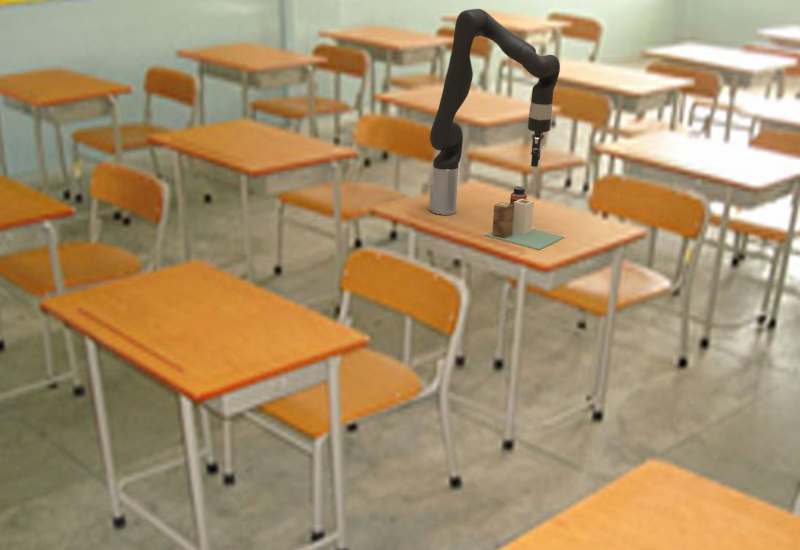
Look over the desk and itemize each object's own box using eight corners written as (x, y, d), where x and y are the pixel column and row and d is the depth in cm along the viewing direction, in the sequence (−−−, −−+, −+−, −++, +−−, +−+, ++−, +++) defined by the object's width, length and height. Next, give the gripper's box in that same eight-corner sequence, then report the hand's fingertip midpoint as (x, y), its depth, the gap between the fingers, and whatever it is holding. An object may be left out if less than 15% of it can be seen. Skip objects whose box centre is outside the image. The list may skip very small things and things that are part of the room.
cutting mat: (484, 235, 342) (484, 234, 341) (510, 224, 354) (510, 223, 354) (539, 250, 329) (539, 249, 329) (564, 237, 342) (564, 236, 341)
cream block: (511, 231, 345) (514, 201, 341) (519, 228, 349) (521, 198, 345) (524, 235, 342) (526, 204, 338) (531, 231, 346) (533, 201, 342)
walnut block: (492, 235, 341) (494, 204, 337) (500, 232, 344) (502, 201, 340) (504, 238, 338) (506, 207, 334) (512, 235, 342) (514, 204, 338)
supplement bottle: (524, 220, 359) (526, 190, 354) (508, 219, 360) (510, 189, 355) (525, 215, 364) (528, 186, 360) (509, 214, 365) (511, 185, 361)
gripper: (530, 110, 334) (526, 156, 340) (526, 119, 321) (522, 167, 327) (552, 112, 333) (547, 158, 339) (549, 121, 320) (544, 169, 326)
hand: (535, 163), depth 333 cm, fingers open, 8 cm apart
